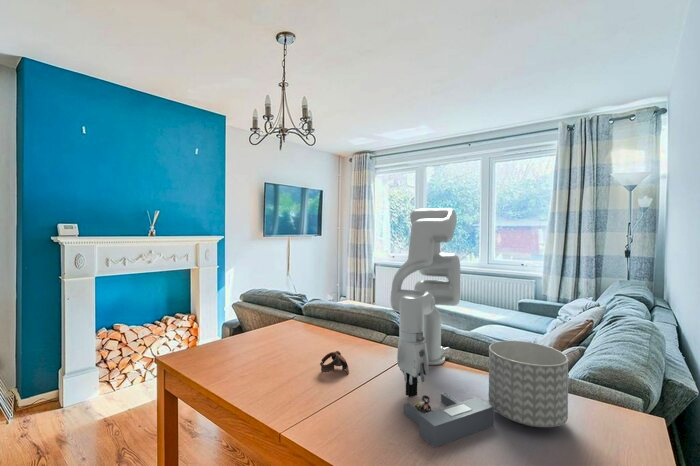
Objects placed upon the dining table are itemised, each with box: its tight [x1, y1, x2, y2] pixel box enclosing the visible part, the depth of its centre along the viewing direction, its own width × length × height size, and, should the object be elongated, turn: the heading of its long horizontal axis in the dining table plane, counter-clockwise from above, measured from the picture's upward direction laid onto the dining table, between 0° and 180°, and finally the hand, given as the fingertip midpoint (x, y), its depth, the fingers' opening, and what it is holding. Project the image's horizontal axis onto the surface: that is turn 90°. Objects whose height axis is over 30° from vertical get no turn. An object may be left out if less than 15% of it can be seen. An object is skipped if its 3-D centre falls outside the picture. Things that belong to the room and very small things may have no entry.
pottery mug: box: [319, 350, 350, 376], centre depth 121 cm, size 12×10×8 cm
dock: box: [403, 392, 495, 448], centre depth 90 cm, size 20×16×5 cm
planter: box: [488, 340, 569, 428], centre depth 91 cm, size 19×19×18 cm
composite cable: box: [412, 394, 433, 413], centre depth 98 cm, size 10×5×2 cm, turn 151°
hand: (411, 395), depth 103 cm, fingers closed
